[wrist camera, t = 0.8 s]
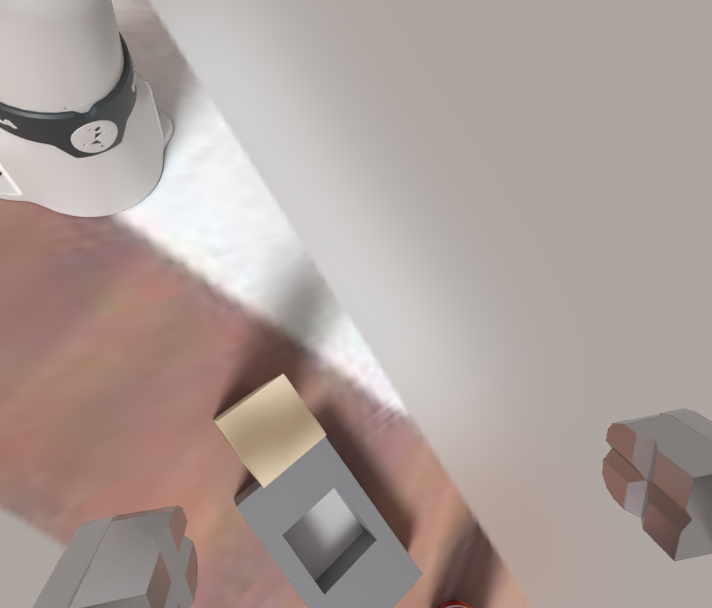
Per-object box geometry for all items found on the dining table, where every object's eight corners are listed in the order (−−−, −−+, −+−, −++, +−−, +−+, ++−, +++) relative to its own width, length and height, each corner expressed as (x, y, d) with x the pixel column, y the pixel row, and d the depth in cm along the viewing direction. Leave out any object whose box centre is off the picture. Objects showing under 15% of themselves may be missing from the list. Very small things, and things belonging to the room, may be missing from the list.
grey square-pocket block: (233, 498, 41) (236, 506, 37) (313, 432, 45) (323, 433, 41) (333, 640, 41) (346, 662, 37) (404, 561, 45) (422, 573, 41)
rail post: (212, 419, 42) (217, 421, 26) (254, 389, 44) (283, 373, 28) (240, 460, 42) (264, 488, 26) (281, 428, 44) (326, 434, 28)
